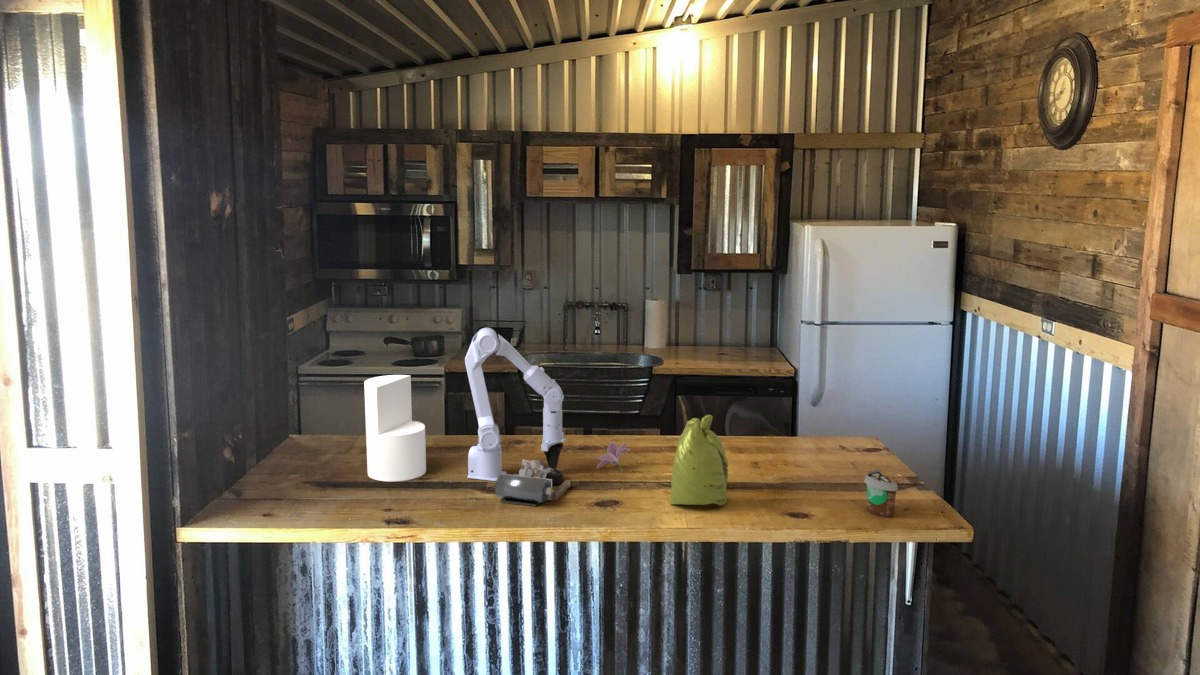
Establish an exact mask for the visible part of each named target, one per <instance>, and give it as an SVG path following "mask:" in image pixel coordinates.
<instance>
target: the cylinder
mask: <svg viewBox="0 0 1200 675" xmlns="http://www.w3.org/2000/svg"><path fill="white" fill-rule="evenodd" d="M411 376H412V375H407V374H391V375H389V374H388V375H381V376H374V377H370V378H368V379H366V380H364V381H363V383H364V385H363V386H364V387H363V388H364V391H363V392H364V412H365V414H364V416H365V417H364V418H365V441H366V444H365V445H366V466H367V468H366V470H367V477H369V478H370V479H372V480H376V481H380V482H403V481H405V482H406V481H409V480H413V479H416V478H417V479H418V478H420V477H422V476H423V475H425V474H426V472H427V457H426V456H427V452H426V451H427V449H426V448H427V447H426V425H425V423H422V422H421V421H417V420H413V413H412V412H413V411H412V378H411Z"/></svg>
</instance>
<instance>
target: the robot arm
mask: <svg viewBox="0 0 1200 675" xmlns="http://www.w3.org/2000/svg"><path fill="white" fill-rule="evenodd" d="M494 353H495V355H496V356H502V357H505V358H506V359H507V360H509V361H510V363H512V365H514V366H515V367H516V368H517V369H518V370H519V371H521V372H522V373H523V380H524V381H525V382H526V383H527V385H529V386H530V387H531V388H532V389H533V390H534V391H535V392H536V393H537V394H538V395H541V396H542V398H543V408H542V443H541V445H540V450H541V452H543V453H544V455H545V458H546V462H547V463H546V464H547V467H551V468H554V469H557V466H558V464H559V460H560V454H561V452H562V450H563V448H564V443H565V442H567V438H565V437H564V436H565V435H564V434H565V433H564V431H563V408H562V407H563V402H564V400H565V398H564V397H565V396H564V393H563V390H562V388H561V387H560V385H559V383H557V382H556V380H555V379H554V378H551V377H550V376H549V375H548V374H547V373H546V372H545V370H546V369H544V368H543V367H542V366H540V367H539V365H532V364H530V363H529V362H528V361H527V360H526V358H525V357H523V355H522V354H520V352H518V350H517V349H516V348H515V347H514V346H513V345H512V344H511V343H510V342H509V341H508V340H507V339H505V338H504V337H503V336H502V335H501V334H499V333H498V334H497V332H496V330H494V329H493V328H491V327H483V328H480V329H479V330H478V332H476V333H475V334H474V336H473V337H472V339H471V343H470V344H469V347H468V350H467V352H466V355H465V357H464V364H465V368H466V372H467V378H468V384H469V387H470V391H471V396H472V400H473V405H474V410H475V414H476V418H477V423H478V429H477V435H478V443H477V444H476V445H472V446H471V447H470V449H469V450H468V453H467V454H468V455H467V456H468V458H467V468H468V469H467V473H468V474H467V478H468V479H474V480H482V481H491V482H496V481H497V478H498V476H499V475H500V474H507V471H503V470H502V469H503V468H502V444H501V436H500V429H499V426H498V425H497V424H496V423H495V421H494V417H493V413H492V408H491V403H490V399H489V394H488V389H487V386H486V380H485V375H484V370H483V367H482V365H483V363H484V362H486V359H487V358H488V357H490V356H491V355H492V354H494Z"/></svg>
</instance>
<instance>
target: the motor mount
mask: <svg viewBox="0 0 1200 675" xmlns="http://www.w3.org/2000/svg"><path fill="white" fill-rule="evenodd" d="M518 475H519V473H513V474H509V473H508V474H507V473H506V474H500V475H499V476H498V478H497V481H495V488H494V490H495V495H496V497H497V498H501V503H502V502H503V503H505V504H510V503H512V504H511V505H518V504H522V505H521V506H527V505H532V506H531V507H535V506H536V505H537V504H538V503H539V502H540V503H542V504H543V503H545V502H546V501H547V500H552V501H558V499H559V498H560V497H561V496H563V494H565V493H566V491H568V489H569V488H571V479H565V480H564V481H563V482H561V483H560V485H559V486H558V487H557V488H556V489H555V490H554V491H553V483H552V479H545V478H536V477H527V476H518ZM540 503H539V504H540ZM539 504H538V505H539ZM538 505H537V506H538ZM537 506H536V507H537Z"/></svg>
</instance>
